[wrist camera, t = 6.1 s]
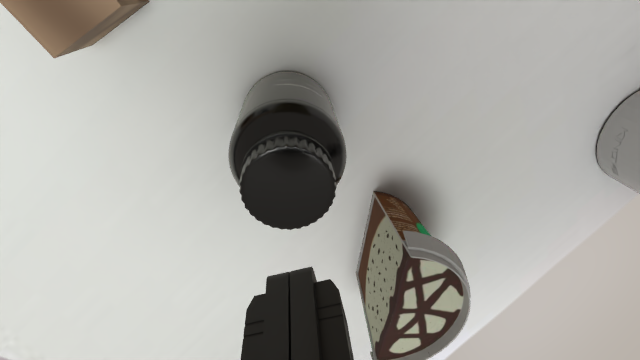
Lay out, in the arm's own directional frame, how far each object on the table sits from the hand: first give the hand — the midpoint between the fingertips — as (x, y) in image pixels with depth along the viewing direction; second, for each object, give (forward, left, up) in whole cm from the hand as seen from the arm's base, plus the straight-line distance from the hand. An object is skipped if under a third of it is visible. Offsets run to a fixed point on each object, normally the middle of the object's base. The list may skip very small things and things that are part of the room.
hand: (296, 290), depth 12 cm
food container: (-7, +14, -19) cm, 25 cm away
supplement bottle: (0, 0, -19) cm, 19 cm away
